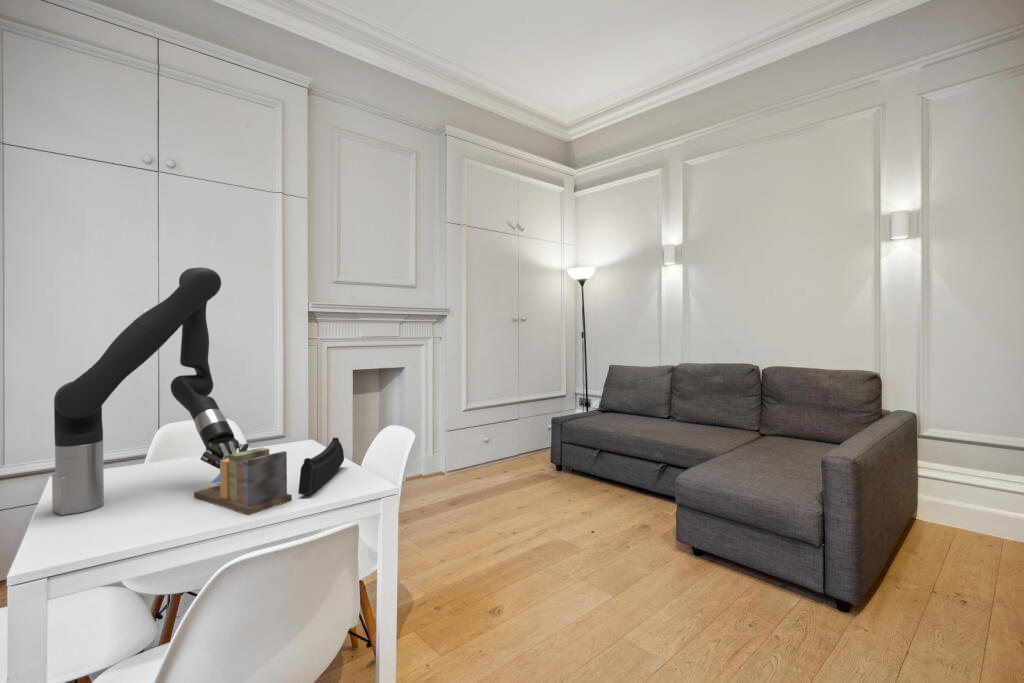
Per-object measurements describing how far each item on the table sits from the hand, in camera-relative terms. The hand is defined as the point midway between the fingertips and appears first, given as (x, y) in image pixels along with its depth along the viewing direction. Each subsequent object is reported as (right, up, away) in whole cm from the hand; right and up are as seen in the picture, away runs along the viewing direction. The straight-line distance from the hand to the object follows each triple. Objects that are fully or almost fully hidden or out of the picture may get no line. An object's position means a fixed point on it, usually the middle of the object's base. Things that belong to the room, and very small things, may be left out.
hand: (238, 476), depth 129 cm
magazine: (+18, -6, +15) cm, 24 cm away
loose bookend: (+2, -4, -1) cm, 5 cm away
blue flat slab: (-13, -6, +22) cm, 26 cm away
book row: (+2, -6, -1) cm, 6 cm away
